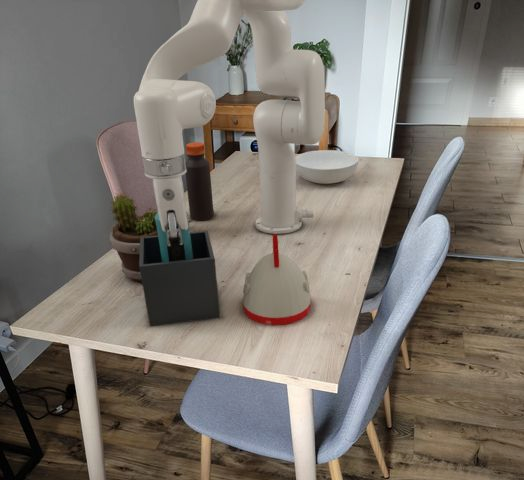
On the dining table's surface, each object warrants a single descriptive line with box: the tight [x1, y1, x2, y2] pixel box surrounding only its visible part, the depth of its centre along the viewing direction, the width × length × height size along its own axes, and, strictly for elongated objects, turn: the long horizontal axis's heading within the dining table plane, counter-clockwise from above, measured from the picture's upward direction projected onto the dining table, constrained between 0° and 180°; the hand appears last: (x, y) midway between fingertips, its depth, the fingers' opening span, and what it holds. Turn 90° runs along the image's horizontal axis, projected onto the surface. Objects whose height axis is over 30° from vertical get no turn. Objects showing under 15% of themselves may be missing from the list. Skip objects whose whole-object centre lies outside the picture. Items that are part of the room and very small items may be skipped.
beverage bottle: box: [155, 194, 194, 263], centre depth 104 cm, size 6×7×20 cm
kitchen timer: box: [242, 234, 312, 326], centre depth 106 cm, size 14×14×15 cm
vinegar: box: [184, 141, 215, 222], centre depth 148 cm, size 7×7×20 cm
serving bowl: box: [295, 149, 359, 185], centre depth 175 cm, size 21×21×7 cm
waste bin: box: [139, 230, 221, 327], centre depth 109 cm, size 14×14×13 cm
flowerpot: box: [108, 189, 158, 284], centre depth 119 cm, size 14×15×20 cm
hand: (177, 255), depth 106 cm, fingers closed on beverage bottle, 6 cm apart
